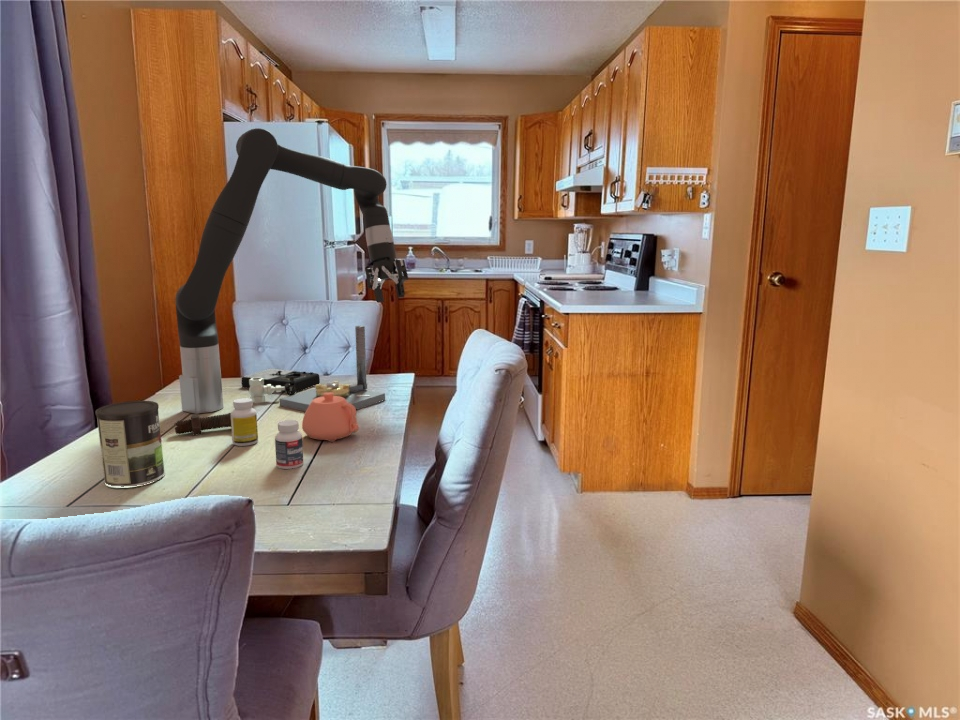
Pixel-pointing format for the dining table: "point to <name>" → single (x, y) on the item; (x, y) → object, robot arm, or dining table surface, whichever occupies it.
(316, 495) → the dining table surface
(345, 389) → the brass hub with handle
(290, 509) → the dining table surface
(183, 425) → the bolt
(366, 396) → the base plate
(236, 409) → the supplement bottle
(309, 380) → the multimeter
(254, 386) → the valve
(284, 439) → the pill bottle
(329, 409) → the sugar bowl
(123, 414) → the coffee can
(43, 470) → the dining table surface
